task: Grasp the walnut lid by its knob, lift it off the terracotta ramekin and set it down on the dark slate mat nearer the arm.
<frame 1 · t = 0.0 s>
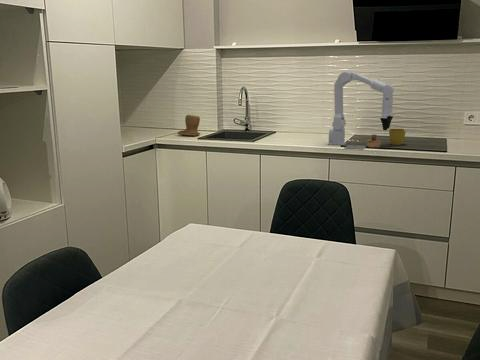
hand: (386, 129, 283), 10 cm above the kitchen counter, fingers open, 7 cm apart
brown hat: (190, 135, 346), on the kitchen counter
flower pot: (396, 144, 292), on the kitchen counter
lid: (373, 141, 286), point 3 cm above the kitchen counter, touching bowl
mat: (355, 147, 284), on the kitchen counter
bowl: (373, 146, 287), on the kitchen counter
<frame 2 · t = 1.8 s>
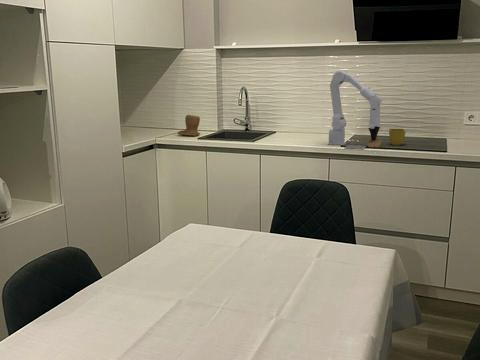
hand: (373, 139, 286), 4 cm above the kitchen counter, fingers closed on lid, 3 cm apart
lid: (373, 141, 286), point 3 cm above the kitchen counter, touching bowl, gripper
everything else where it was.
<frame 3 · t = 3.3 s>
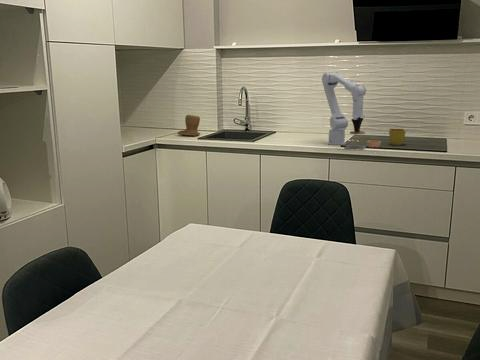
hand: (357, 130, 282), 10 cm above the kitchen counter, fingers closed on lid, 3 cm apart
lid: (357, 133, 282), point 8 cm above the kitchen counter, touching gripper
everything else where it was.
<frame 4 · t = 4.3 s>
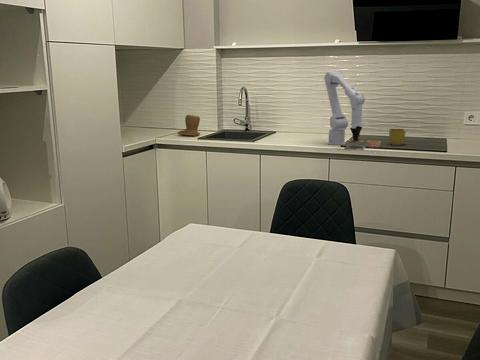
hand: (355, 139, 283), 5 cm above the kitchen counter, fingers closed on lid, 3 cm apart
lid: (356, 141, 283), point 3 cm above the kitchen counter, touching gripper
everything else where it was.
when the fingers open (3 cm above the kitchen counter, at t = 5.0 s): lid drops 1 cm, resting on mat.
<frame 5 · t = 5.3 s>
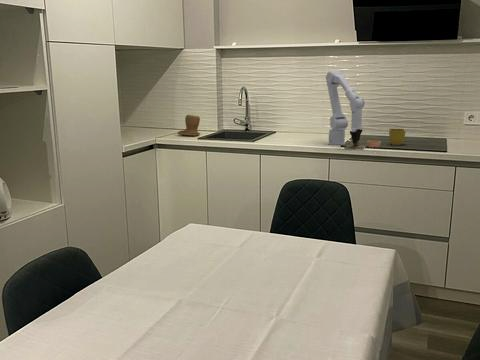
hand: (355, 142, 283), 3 cm above the kitchen counter, fingers open, 5 cm apart
lid: (355, 147, 284), resting on mat
everything else where it was.
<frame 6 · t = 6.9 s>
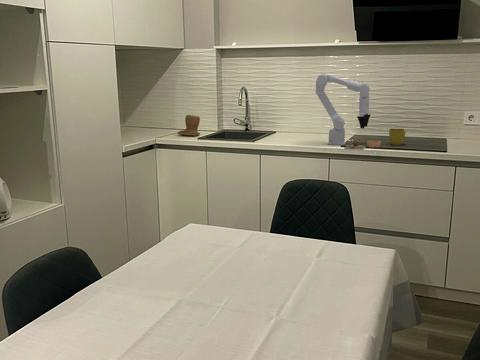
hand: (363, 127, 292), 10 cm above the kitchen counter, fingers open, 7 cm apart
nothing on the kitchen counter moved.
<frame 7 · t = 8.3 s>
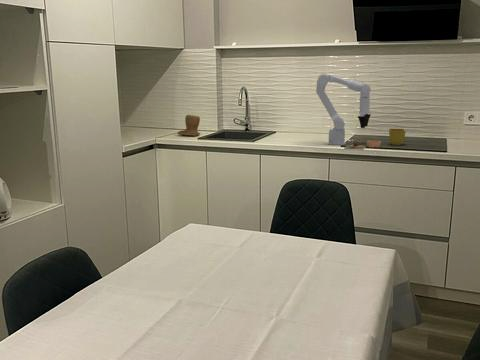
hand: (364, 127, 293), 10 cm above the kitchen counter, fingers open, 7 cm apart
nothing on the kitchen counter moved.
at the end: lid inside the target area on the mat (0.2 cm from its centre), point 0.4 cm above the mat's base; lid tilted 0°; lid touching mat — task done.
